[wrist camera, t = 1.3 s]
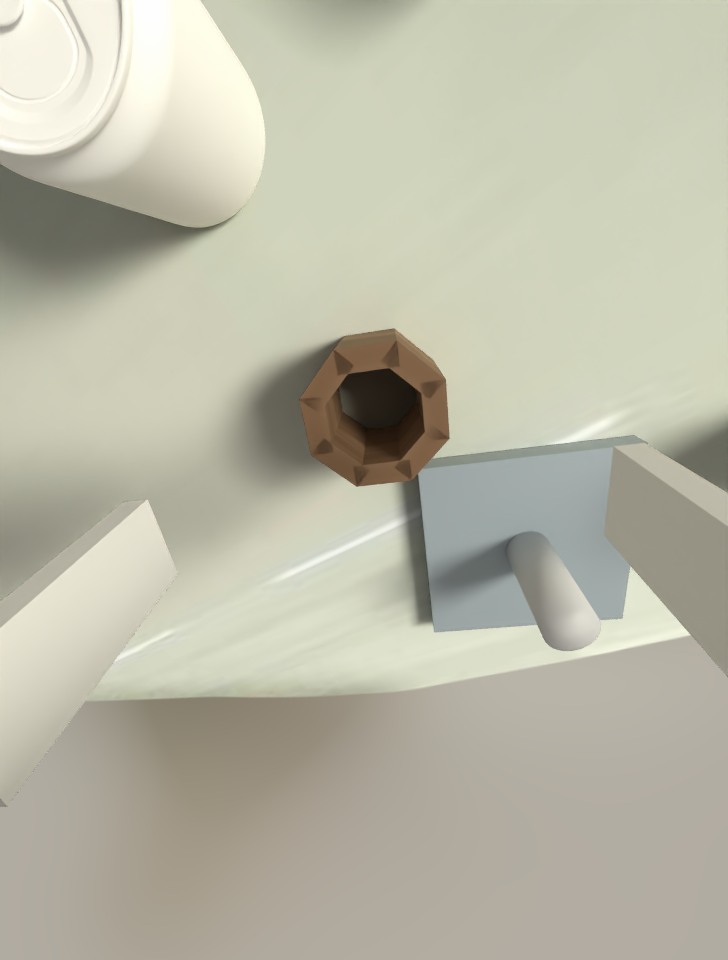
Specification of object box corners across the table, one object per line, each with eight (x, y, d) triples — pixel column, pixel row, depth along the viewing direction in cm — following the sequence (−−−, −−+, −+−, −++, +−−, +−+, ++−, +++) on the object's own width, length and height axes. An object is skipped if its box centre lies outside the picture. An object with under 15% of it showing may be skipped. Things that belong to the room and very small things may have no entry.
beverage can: (159, 249, 23) (-38, 217, 13) (79, 69, 20) (-275, -184, 9) (292, 199, 22) (201, 114, 11) (228, -2, 19) (17, -394, 8)
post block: (432, 618, 34) (447, 723, 26) (416, 460, 28) (428, 531, 20) (612, 604, 32) (688, 711, 24) (634, 435, 27) (744, 500, 18)
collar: (331, 451, 28) (318, 490, 23) (310, 341, 25) (289, 355, 20) (438, 438, 27) (452, 476, 22) (429, 323, 24) (443, 333, 19)
